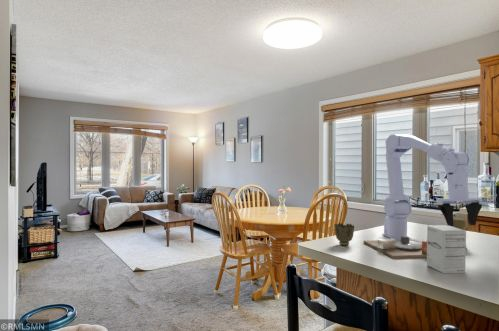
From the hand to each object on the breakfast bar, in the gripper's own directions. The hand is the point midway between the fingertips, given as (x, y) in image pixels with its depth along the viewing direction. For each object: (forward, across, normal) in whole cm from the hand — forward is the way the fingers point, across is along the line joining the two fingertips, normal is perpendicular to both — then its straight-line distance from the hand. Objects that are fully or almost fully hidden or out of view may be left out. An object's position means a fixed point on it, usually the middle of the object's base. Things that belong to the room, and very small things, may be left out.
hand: (461, 225), depth 105 cm
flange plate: (+8, -18, +8) cm, 21 cm away
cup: (+8, -36, +15) cm, 40 cm away
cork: (+10, +6, +13) cm, 18 cm away
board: (+9, -15, +9) cm, 20 cm away
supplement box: (+12, -14, -11) cm, 22 cm away
